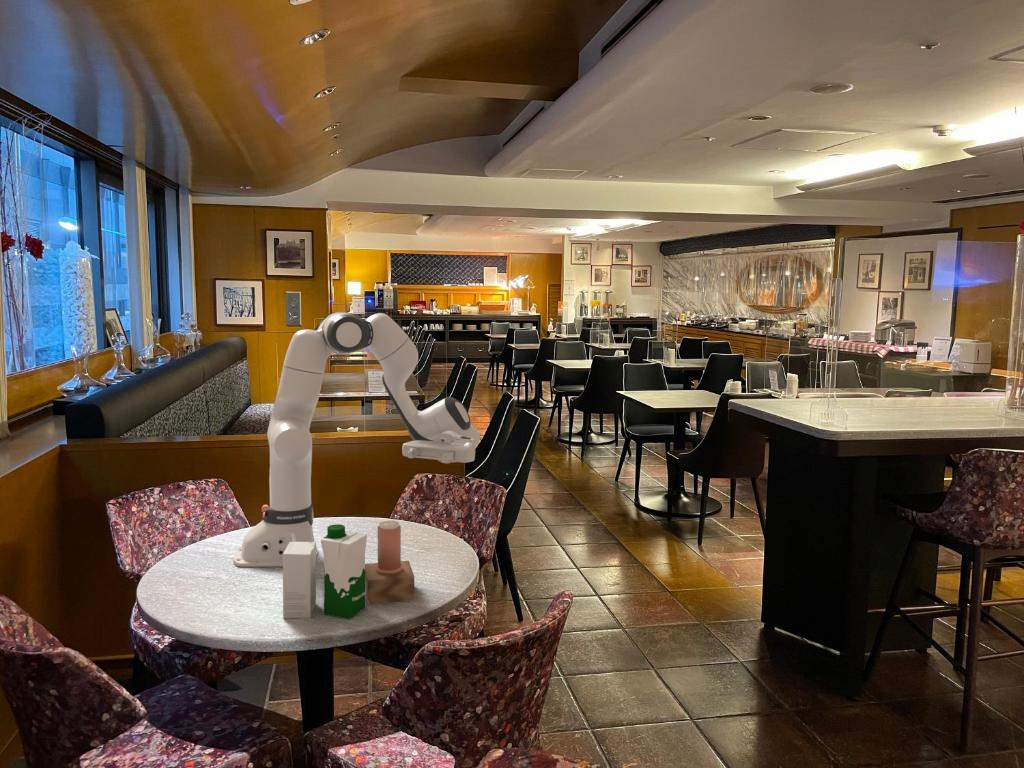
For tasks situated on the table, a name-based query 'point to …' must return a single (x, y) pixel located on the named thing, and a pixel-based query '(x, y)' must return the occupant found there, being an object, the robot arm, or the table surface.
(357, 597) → the milk carton
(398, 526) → the canister
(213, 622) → the table surface
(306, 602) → the skincare box
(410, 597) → the block
